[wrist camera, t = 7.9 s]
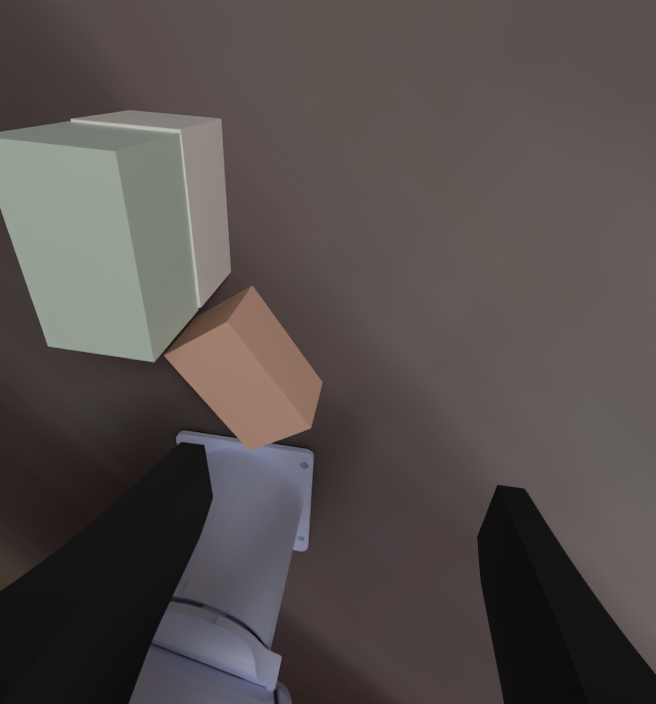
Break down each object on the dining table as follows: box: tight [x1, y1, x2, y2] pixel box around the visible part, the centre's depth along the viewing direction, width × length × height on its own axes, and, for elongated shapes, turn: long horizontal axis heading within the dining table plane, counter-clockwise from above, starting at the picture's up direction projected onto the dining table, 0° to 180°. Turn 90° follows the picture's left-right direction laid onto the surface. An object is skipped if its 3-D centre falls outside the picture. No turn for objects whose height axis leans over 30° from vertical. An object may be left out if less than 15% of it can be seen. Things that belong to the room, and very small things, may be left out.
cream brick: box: [71, 110, 231, 308], centre depth 16 cm, size 6×4×4 cm, turn 176°
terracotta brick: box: [164, 286, 322, 451], centre depth 20 cm, size 6×4×4 cm, turn 32°
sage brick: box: [0, 121, 198, 362], centre depth 13 cm, size 6×4×4 cm, turn 176°
